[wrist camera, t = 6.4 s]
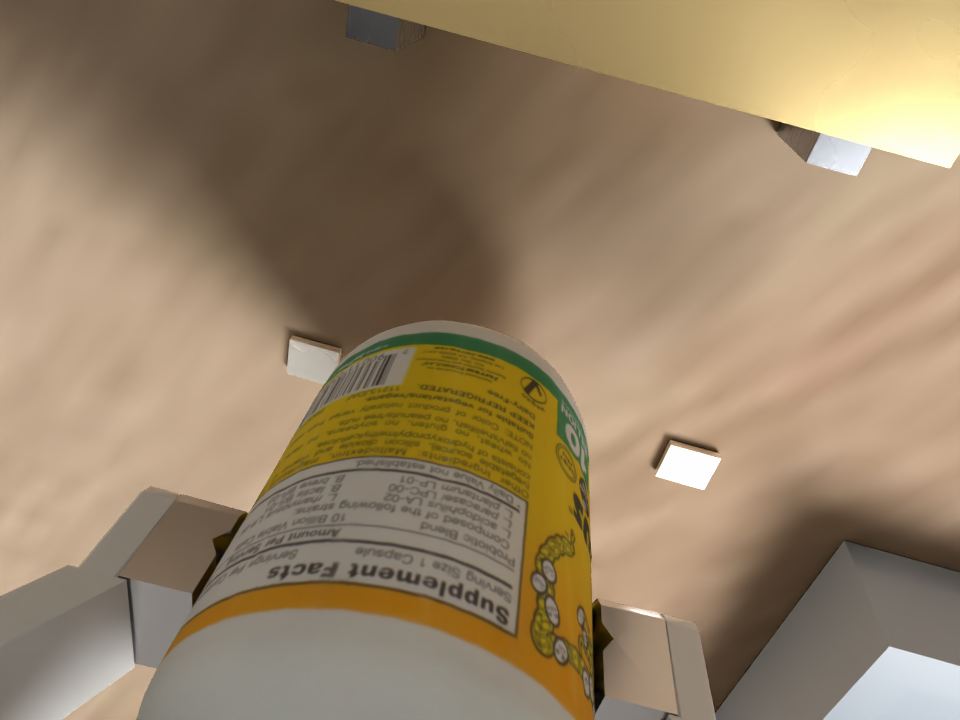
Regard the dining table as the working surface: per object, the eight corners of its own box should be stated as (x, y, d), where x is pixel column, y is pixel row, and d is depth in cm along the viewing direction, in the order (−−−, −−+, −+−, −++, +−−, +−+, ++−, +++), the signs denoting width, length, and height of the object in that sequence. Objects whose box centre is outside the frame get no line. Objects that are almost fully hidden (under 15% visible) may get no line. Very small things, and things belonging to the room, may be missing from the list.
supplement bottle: (341, 278, 12) (-151, 940, 4) (628, 355, 12) (733, 1163, 4) (312, 494, 15) (-11, 1143, 7) (546, 555, 15) (508, 1272, 7)
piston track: (289, 369, 16) (254, 417, 15) (410, -965, 7) (353, -1252, 5) (703, 484, 16) (715, 545, 15) (1362, -719, 7) (1603, -933, 5)
